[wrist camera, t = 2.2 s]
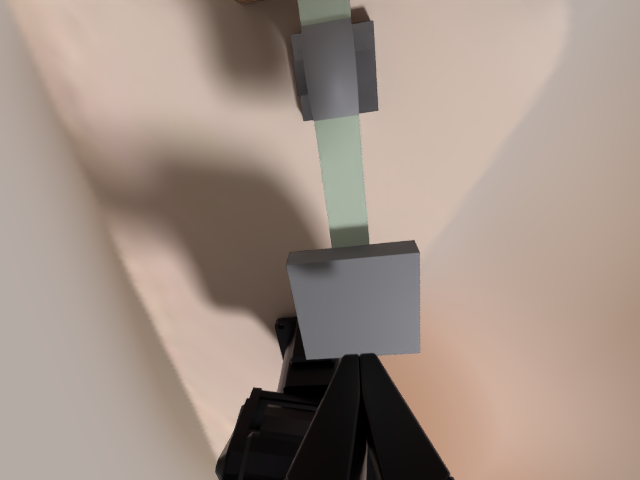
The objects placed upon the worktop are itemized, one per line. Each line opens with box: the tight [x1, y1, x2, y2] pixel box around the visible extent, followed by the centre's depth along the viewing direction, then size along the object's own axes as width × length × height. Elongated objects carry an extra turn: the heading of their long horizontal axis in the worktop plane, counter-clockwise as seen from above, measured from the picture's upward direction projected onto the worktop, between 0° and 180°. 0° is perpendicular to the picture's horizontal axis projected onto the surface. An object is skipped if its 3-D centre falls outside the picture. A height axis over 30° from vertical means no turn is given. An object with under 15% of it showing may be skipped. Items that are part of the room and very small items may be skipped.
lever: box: [286, 0, 420, 360], centre depth 10 cm, size 19×4×6 cm, turn 8°
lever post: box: [290, 21, 378, 121], centre depth 14 cm, size 4×4×8 cm
